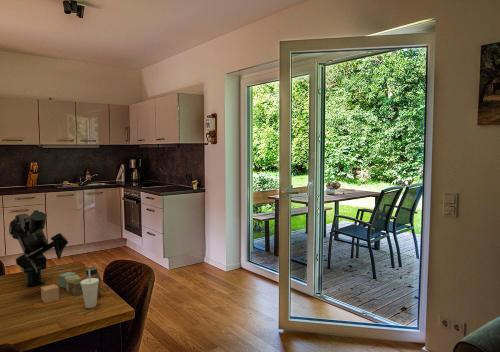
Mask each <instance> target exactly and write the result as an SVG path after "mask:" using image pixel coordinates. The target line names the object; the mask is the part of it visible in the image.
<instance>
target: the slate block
mask: <svg viewBox="0 0 500 352" xmlns="http://www.w3.org/2000/svg"><path fill="white" fill-rule="evenodd" d="M75 275H78V274H77V273H76V272H71V271H67V272H65V273H62V274H59V275H58V285H59V286H58V287H59V288H65V289H66V286H65V277H69V276H75Z"/></svg>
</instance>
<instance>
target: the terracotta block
mask: <svg viewBox="0 0 500 352" xmlns="http://www.w3.org/2000/svg"><path fill="white" fill-rule="evenodd" d="M59 290H60V287H59V286H58V285H57V284H56V283H53V284H49V285H44V286H40V295H41V296H40V297H41V301H43V302H44V303H45V304H48V303H51V302H55V301H58V300H60V291H59Z"/></svg>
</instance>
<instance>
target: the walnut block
mask: <svg viewBox="0 0 500 352" xmlns="http://www.w3.org/2000/svg"><path fill="white" fill-rule="evenodd" d="M82 280H84V278H81V277H80V279H76V280H73V281H70V282H68V287H69V292H68V295H71V296H73V297H77V296H81V295H83V291H82V286H81V285H80V284H81V283H80V282H81V281H82Z"/></svg>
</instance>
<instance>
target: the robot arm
mask: <svg viewBox="0 0 500 352" xmlns="http://www.w3.org/2000/svg"><path fill="white" fill-rule="evenodd" d="M46 223H47V214H46V213H45V212H43V211H40V210H39V209H38V210H36V209H35V210H33V212H32V213H31V214H30V215H29V214H28V213H21V214H16V215H15V216H14V219H13V220H11V221H10V222H9V226H8V233H9V235H10V236H11V237H12V239H14V240H18V243H19V245H20V247H21V250H22V253H23V254H22V255H20V256H18V257H17V258H15V264H16V265H18V266H19V267H20V269H21V270H20V271H21V272H22V273H23V274H26V276H25V277H26V281H25V282H24V284H25V286H26V287H27V288H31V287H35V286H40V285H43V284H45V281H44V280H43V278H42V275H43V274H42V270H46V268H47V262H48V261H47V257H46V255H45V254H46V253H47V252H49V251H50V250H52V249H53V248H54V252H55V255H56V257H57V259H58V260H61V258H62V254H63V251H64V248H66V245H68V244H69V241H68V239H67V238H66V237H65V236H64V234H62V233H61V232H59V233H57V234H55V235H54V236H52V237H50V240H51V242H50V243H49V240H48V239H47V237H46V234H45V232H44V230H45V228H46Z"/></svg>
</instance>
